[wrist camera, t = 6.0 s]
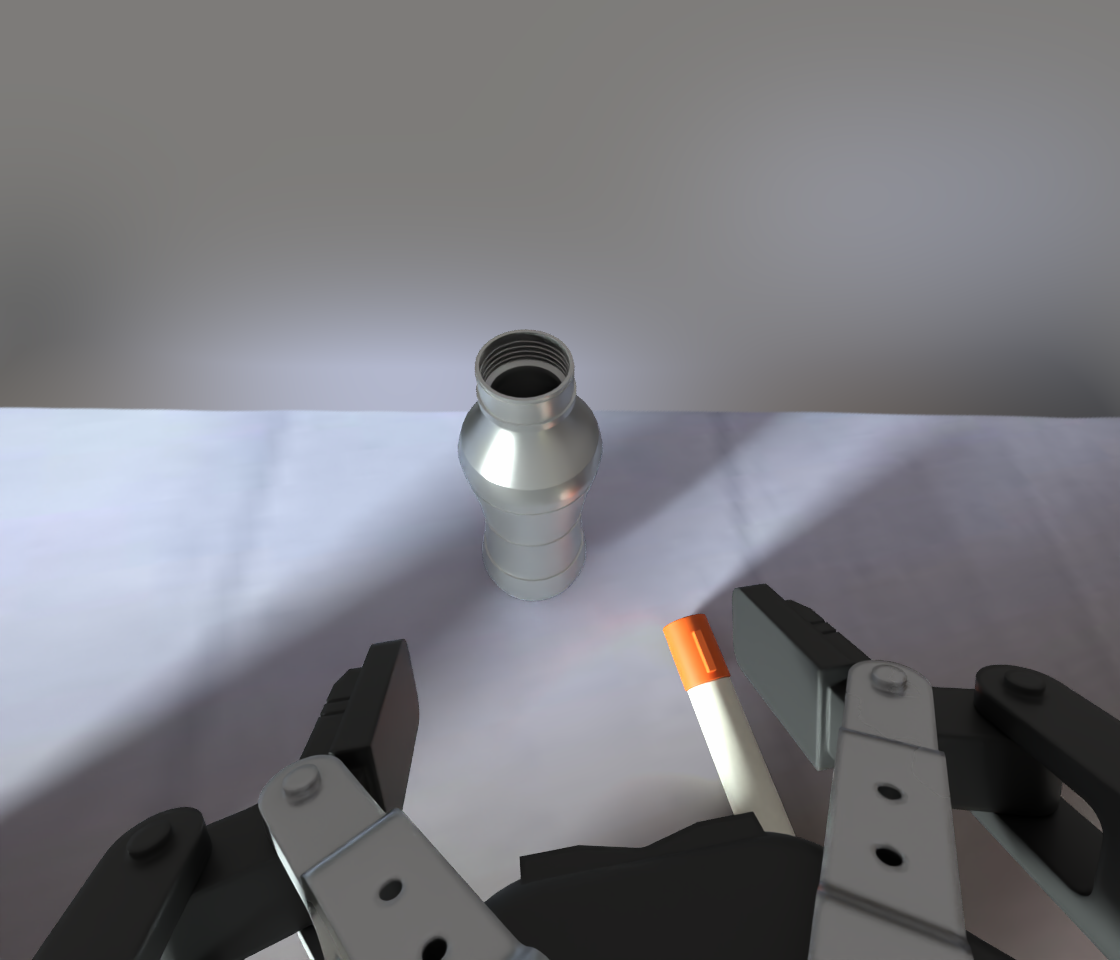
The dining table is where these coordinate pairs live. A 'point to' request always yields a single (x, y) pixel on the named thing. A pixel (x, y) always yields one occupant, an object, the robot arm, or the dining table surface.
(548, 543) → the silver metal bottle
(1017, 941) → the dining table surface
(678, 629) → the marker
